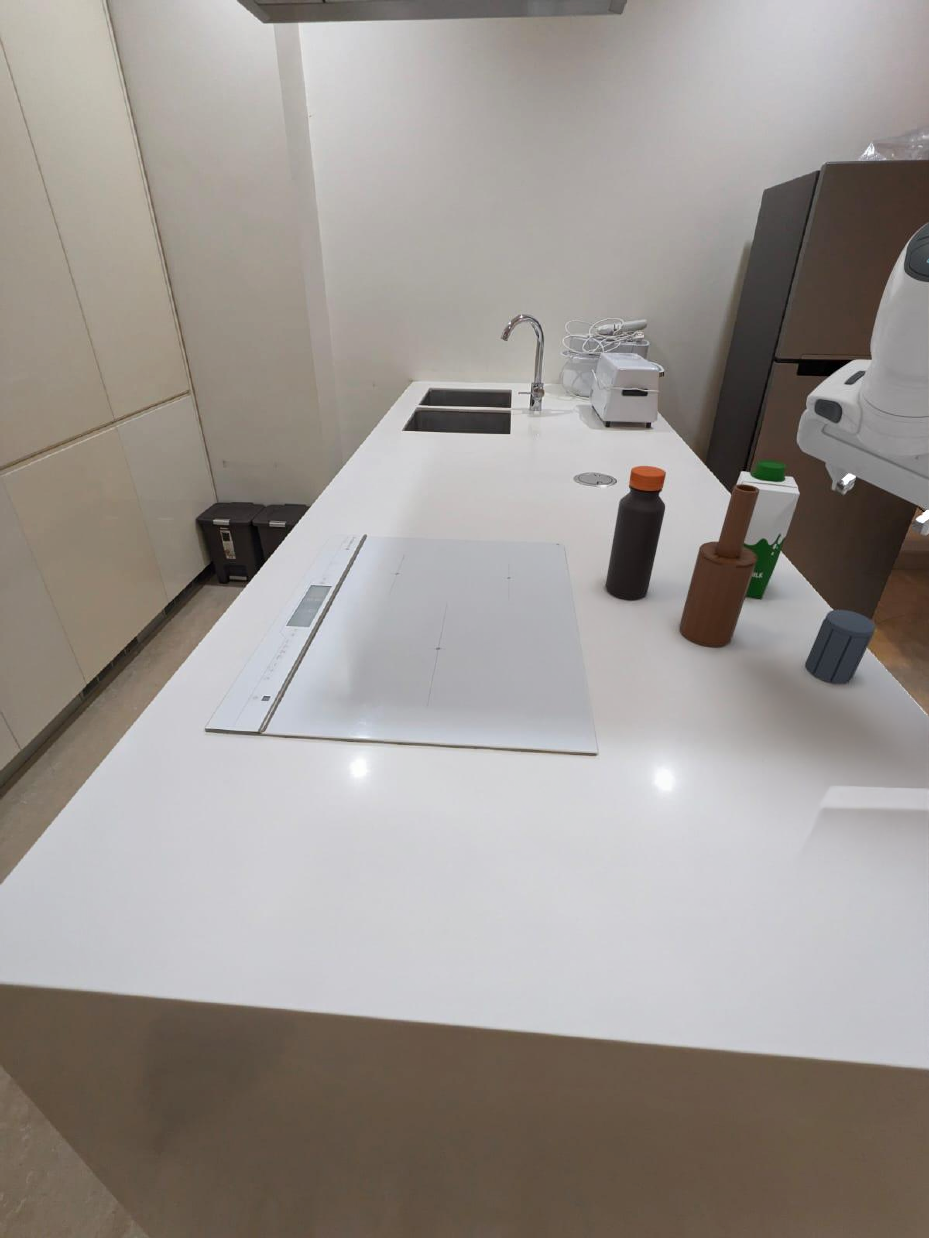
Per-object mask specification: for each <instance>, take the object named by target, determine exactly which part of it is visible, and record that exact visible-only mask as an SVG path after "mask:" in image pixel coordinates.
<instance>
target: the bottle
mask: <svg viewBox="0 0 929 1238" xmlns="http://www.w3.org/2000/svg"><path fill="white" fill-rule="evenodd" d="M731 491H732V492H731V495H730V498H729V502H728V506H727V510H726V513H725V516H724V520H723V523H722V528H721V531H720V534H719V537H718V541H708V542H704V543H702V544H701V545H700V546H699V548H698V552H697V556H696V559H695V563H694V568H693V571H692V576H691V579H690V583H689V586H688V591H687V594H686V599H685V603H684V606H683V611H682V613H681V618H680V622H679V633H680V634H681V635H682V636H683V638H685V639H686V640H688V641H689V642H691V643H693V644H695V645H698V646H703V647H708V648H720V647H725V646H727V645H728V644H730V642H731V641H732V638H733V637H734V634H735V630H736V627H737V624H738V621H739V618H740V614H741V612H742V608H743V605H744V601H745V600H746V597H747V596H746V593H747V590H748V587H749V584H750V581H751V578H752V575H753V571H754V568H755V565H756V562H757V556H756V554H755V553H754V552H753V551H752V550H750V549H748V548H746V547H744V546H743V544H744V541H745V538H746V534H747V531H748V528H749V524H750V521H751V518H752V515H753V511H754V508H755V505H756V501H757V498H758V495H759V491H760V489H758V488H757V487H754V486H752V485H746V484H738V485H736V484H735V485H734V486H733V487H732V490H731Z"/></svg>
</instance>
